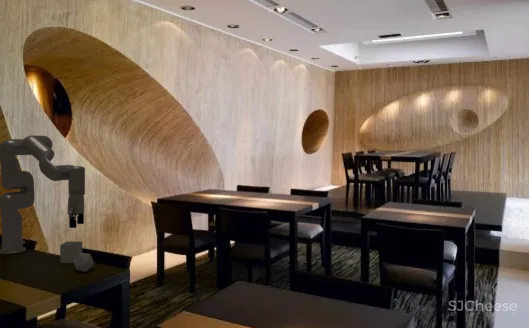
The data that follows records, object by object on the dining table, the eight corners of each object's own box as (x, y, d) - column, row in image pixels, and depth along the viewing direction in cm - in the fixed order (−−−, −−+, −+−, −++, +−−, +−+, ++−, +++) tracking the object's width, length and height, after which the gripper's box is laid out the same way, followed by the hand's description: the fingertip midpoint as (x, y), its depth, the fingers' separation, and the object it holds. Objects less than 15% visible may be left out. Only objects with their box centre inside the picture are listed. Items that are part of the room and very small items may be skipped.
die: (98, 270, 205) (94, 252, 209) (90, 266, 197) (86, 247, 201) (81, 277, 204) (77, 258, 208) (72, 273, 196) (69, 253, 200)
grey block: (66, 258, 222) (66, 241, 221) (82, 258, 222) (82, 241, 222) (60, 263, 214) (60, 245, 214) (76, 263, 214) (76, 245, 214)
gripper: (75, 189, 225) (75, 222, 226) (61, 193, 208) (61, 229, 209) (90, 189, 225) (90, 222, 226) (77, 193, 208) (77, 229, 209)
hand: (76, 225), depth 217 cm, fingers open, 9 cm apart
